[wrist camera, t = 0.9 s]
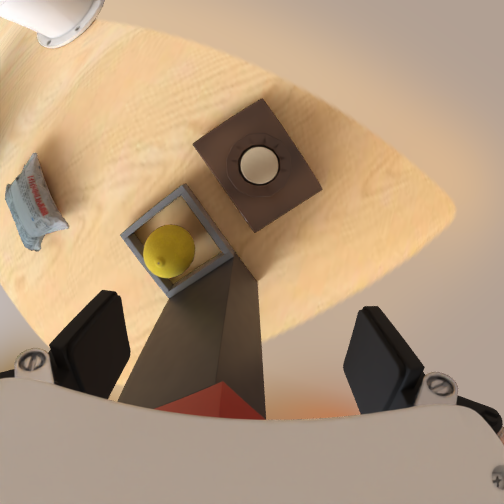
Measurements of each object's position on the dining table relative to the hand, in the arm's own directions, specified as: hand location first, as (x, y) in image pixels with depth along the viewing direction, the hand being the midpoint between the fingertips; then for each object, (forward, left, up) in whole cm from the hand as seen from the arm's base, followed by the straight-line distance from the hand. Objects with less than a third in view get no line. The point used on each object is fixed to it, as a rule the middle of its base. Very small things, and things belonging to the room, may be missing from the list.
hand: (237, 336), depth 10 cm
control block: (-4, +4, -24) cm, 24 cm away
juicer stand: (+1, -9, -24) cm, 25 cm away
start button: (-4, +4, -20) cm, 21 cm away
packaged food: (-19, -23, -24) cm, 38 cm away
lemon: (-2, -9, -24) cm, 25 cm away
